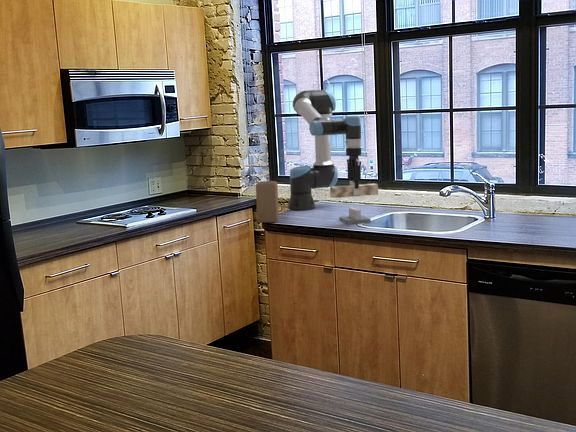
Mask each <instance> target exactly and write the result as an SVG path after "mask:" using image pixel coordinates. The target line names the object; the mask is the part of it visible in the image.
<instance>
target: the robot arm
mask: <svg viewBox="0 0 576 432" xmlns="http://www.w3.org/2000/svg"><path fill="white" fill-rule="evenodd" d="M336 101H337V100H336V97H335V95H334V92H333V91H332V90H330V89H316V90H315V89H314V90H313V89H311V90H310V89H309V90H308V89H307V90H302V91H299V92H298V93H297V94H296V95H295V96H294V98H293V100H292V108H293V111H294V112H295V113H296V114H298V115H300V116H302V118H303V119H304V120H305V122H306V123H307V124H308V126H309V129H308V130H309V133H310V135H311V136H313V137H314V151H315V152H314V154H315V161H314V163H313V165H312V166H313V167H312V166H311V165H308V164H307V165H301V166H300V165H299V166H295V167H293V168H291V169H290V171H289V186H290V187H289V189H290V195H289V199H288V203H287V209H288V210H290V211H310V210H314V209H315V208H316V203H315V200H314V198H313V195H312V190H314V189H324V188H325V189H328V188H330V187H336V185H337V182H338V178H339V171H338V168H337V166H335V163H334V162H333V161H332V153H331V152H332V149H331V148H332V147H331V145H332V144H331V136H333V135H334V136H335V135H336V136H337V135H345V141H344V142H345V147H346V148H345V155H346V156H348V158H346V163H347V179H348V180H349V185H353V195H359V185H360V182H361V181H362V175H361V173H362V172H361V171H362V169H361V168H362V167H361V166H362V161H360V159H359V156H361V155H362V148H361V147H362V119H361V118H362V117H361V116H360V115H346V116H345V118H339V119H331V116H332V115H333V112H334V111H335V110H336V108H337V102H336Z"/></svg>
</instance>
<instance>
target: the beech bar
mask: <svg viewBox="0 0 576 432" xmlns="http://www.w3.org/2000/svg"><path fill="white" fill-rule="evenodd" d="M329 191H330V194H329V197H330V198H333V199H337V198H340V199H341V198H351V197H352V198H353V197H361V196H363V197H364V196H375V195H376V196H377V195H379V184H378V183H365V184H359V195H353V185H350V184H348V185H339V186H333V187H329Z"/></svg>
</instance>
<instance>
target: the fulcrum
mask: <svg viewBox="0 0 576 432" xmlns="http://www.w3.org/2000/svg"><path fill="white" fill-rule="evenodd" d="M361 211H362V210H361V209H358V208H355V206H354V207H348V215H346V216H339V221H341V222H343V223H345V224H346V225H352V223H355V224H364V223H371V221H372V220H371V218H369V217H367V216H365V215H363V214H362V213H361Z"/></svg>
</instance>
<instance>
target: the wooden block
mask: <svg viewBox="0 0 576 432" xmlns="http://www.w3.org/2000/svg"><path fill="white" fill-rule="evenodd" d="M278 187H279V185H278V182H277V181H276V180H269V181H267V180H262V181H258V182H257V183H256V184H255V194H256V195H255V196H256V213H257V214H256V219H257V222H258V223H260V224H265V223H267V224H269V223H270V224H271V223H276V222H278V220H279V218H280V217H279V213H280V212H279V191H278V190H279V189H278Z"/></svg>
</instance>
